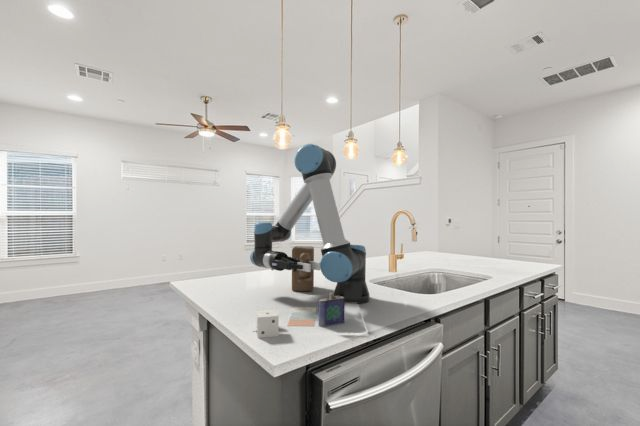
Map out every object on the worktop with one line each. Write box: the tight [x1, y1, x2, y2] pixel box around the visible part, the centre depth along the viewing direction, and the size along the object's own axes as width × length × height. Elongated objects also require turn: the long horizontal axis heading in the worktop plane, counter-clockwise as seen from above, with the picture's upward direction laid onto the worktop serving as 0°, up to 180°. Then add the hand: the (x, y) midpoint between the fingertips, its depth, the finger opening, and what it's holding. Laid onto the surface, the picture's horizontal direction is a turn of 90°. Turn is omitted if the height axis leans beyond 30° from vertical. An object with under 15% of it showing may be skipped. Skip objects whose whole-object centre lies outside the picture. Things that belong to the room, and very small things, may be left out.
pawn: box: [298, 253, 312, 283], centre depth 110 cm, size 5×5×10 cm
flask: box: [318, 292, 346, 328], centre depth 96 cm, size 9×3×11 cm, turn 117°
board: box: [287, 306, 317, 327], centre depth 103 cm, size 9×20×1 cm, turn 178°
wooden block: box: [291, 245, 315, 292], centre depth 144 cm, size 10×10×20 cm
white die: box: [256, 309, 279, 339], centre depth 90 cm, size 6×6×6 cm
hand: (314, 267), depth 106 cm, fingers closed on pawn, 4 cm apart
